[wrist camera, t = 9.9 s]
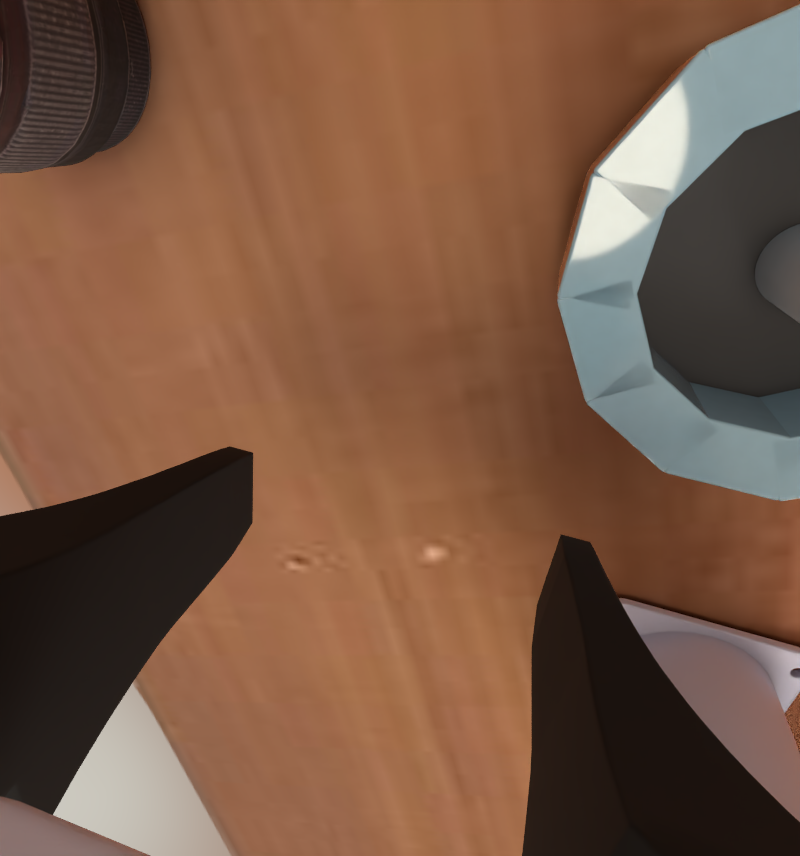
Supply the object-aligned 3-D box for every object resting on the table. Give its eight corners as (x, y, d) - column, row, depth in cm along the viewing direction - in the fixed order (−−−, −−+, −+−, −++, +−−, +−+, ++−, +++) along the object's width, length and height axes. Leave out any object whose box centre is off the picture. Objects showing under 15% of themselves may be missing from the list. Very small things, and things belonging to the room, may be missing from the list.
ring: (893, 488, 18) (949, 544, 15) (524, 400, 20) (517, 437, 17) (1196, 42, 12) (1365, 12, 10) (638, -18, 14) (654, -57, 12)
